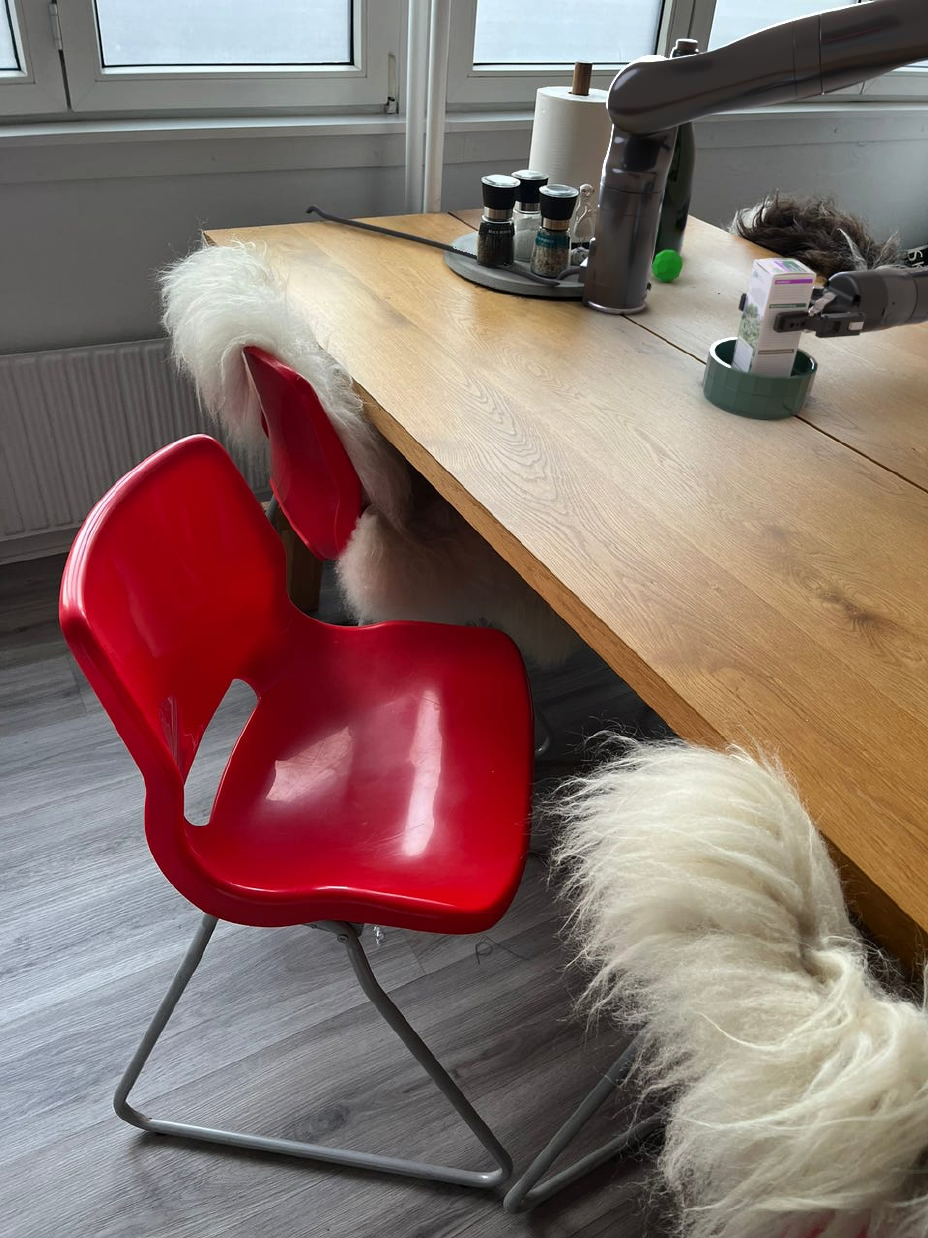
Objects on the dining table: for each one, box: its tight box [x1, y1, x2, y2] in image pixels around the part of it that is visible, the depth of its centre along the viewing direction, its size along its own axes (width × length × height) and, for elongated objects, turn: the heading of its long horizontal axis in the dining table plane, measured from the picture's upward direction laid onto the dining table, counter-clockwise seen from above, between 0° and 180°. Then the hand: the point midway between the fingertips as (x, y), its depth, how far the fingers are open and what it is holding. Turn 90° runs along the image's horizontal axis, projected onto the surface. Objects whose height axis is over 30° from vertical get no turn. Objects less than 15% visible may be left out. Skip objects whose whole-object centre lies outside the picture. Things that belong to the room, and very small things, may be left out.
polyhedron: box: [651, 250, 684, 283], centre depth 156 cm, size 5×5×5 cm
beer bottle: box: [652, 38, 700, 262], centre depth 159 cm, size 10×10×33 cm
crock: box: [701, 337, 819, 421], centre depth 119 cm, size 13×13×6 cm
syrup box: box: [731, 257, 817, 377], centre depth 115 cm, size 6×6×14 cm
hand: (759, 312), depth 113 cm, fingers closed on syrup box, 6 cm apart
